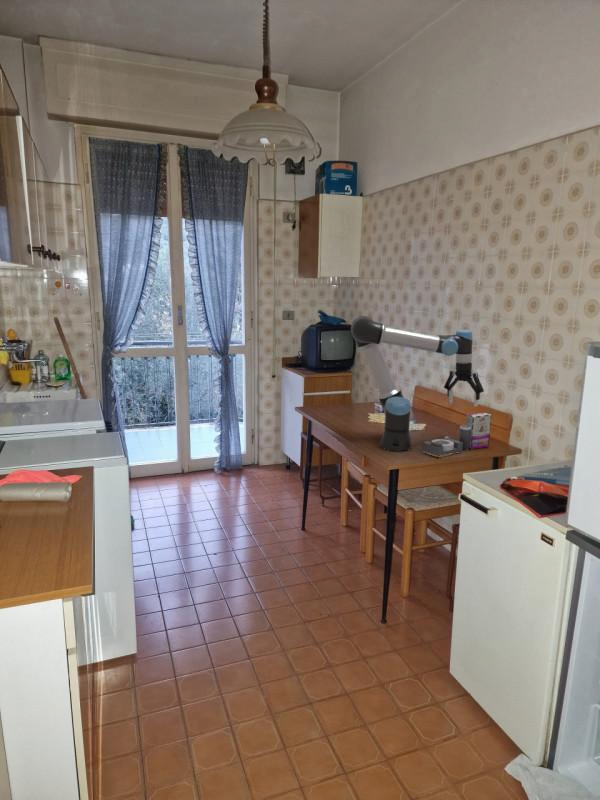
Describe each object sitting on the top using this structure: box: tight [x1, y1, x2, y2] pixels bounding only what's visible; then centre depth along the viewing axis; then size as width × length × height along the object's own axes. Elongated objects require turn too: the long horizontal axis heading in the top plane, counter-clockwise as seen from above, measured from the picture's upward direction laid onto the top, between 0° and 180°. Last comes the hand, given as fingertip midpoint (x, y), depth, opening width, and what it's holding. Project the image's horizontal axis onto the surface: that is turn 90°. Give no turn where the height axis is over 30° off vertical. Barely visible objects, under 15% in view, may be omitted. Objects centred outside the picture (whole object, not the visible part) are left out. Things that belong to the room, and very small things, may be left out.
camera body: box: [421, 436, 463, 456], centre depth 252 cm, size 16×10×6 cm, turn 122°
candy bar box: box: [465, 412, 492, 450], centre depth 260 cm, size 11×5×16 cm, turn 114°
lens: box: [458, 424, 471, 451], centre depth 257 cm, size 5×5×12 cm
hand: (463, 404), depth 267 cm, fingers open, 13 cm apart
